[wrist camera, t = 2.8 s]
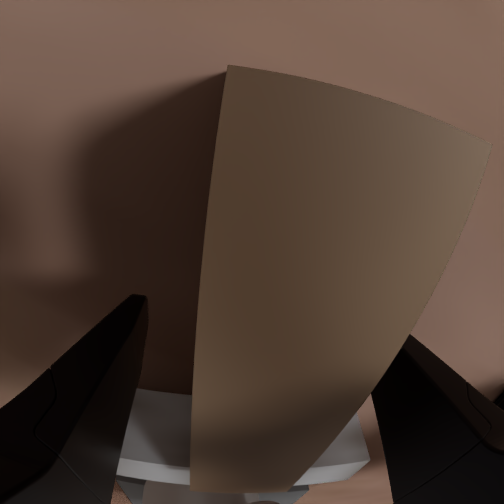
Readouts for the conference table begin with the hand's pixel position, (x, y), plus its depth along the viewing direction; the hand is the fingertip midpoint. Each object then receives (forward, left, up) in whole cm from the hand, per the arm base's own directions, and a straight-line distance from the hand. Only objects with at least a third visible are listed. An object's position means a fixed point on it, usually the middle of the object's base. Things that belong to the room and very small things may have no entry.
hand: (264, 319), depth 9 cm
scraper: (0, +1, -1) cm, 2 cm away
